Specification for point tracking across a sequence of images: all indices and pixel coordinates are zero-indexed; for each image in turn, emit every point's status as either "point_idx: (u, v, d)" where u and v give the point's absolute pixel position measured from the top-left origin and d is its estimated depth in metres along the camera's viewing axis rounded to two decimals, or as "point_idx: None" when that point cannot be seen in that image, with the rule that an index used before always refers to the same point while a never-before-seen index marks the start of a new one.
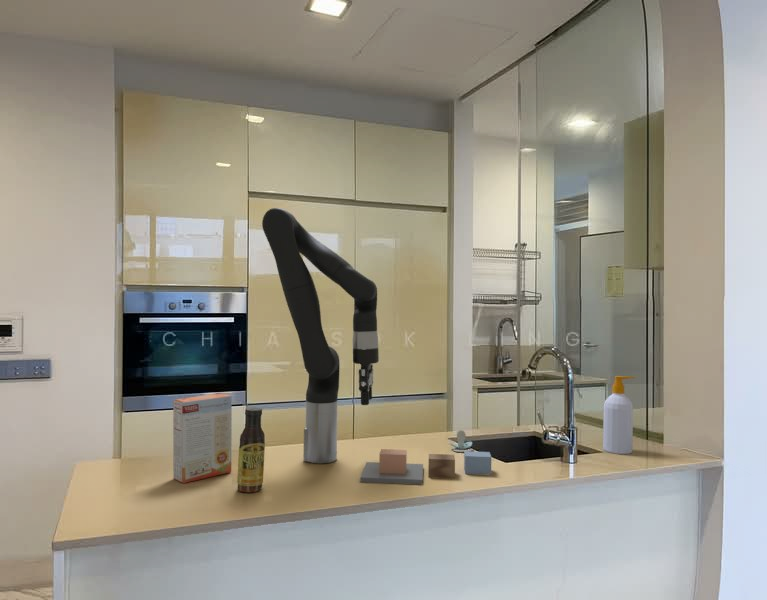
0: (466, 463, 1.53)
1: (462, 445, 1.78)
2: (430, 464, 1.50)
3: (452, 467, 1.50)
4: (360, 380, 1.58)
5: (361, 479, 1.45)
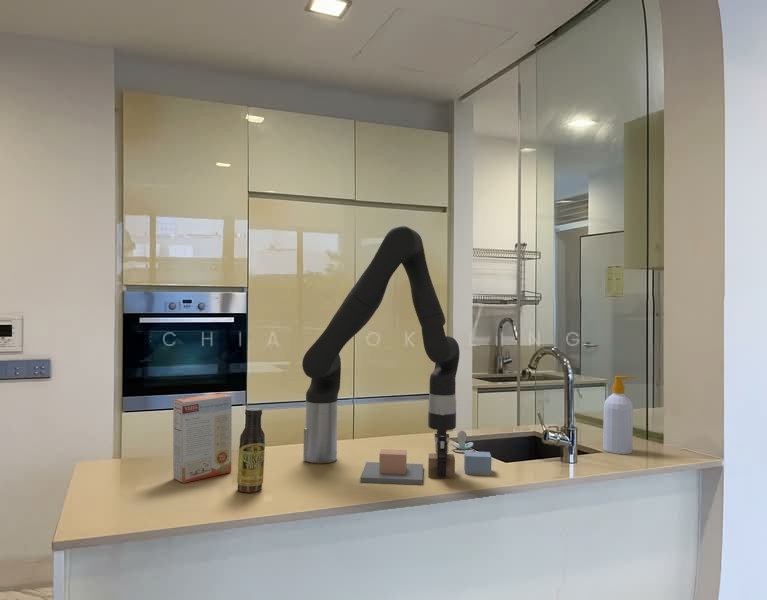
0: (466, 463, 1.53)
1: (463, 446, 1.78)
2: (430, 463, 1.50)
3: (452, 467, 1.50)
4: (439, 452, 1.46)
5: (361, 479, 1.45)
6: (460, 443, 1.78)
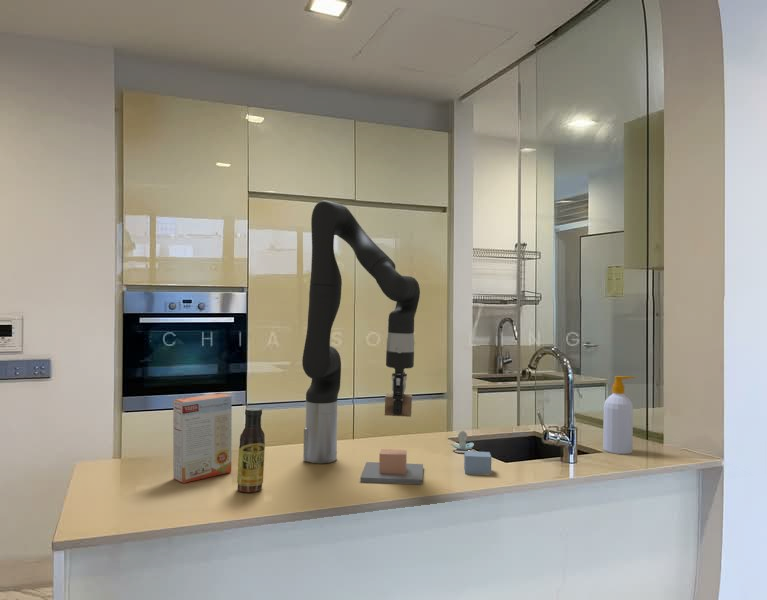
0: (466, 463, 1.53)
1: (463, 446, 1.77)
2: (387, 402, 1.50)
3: (409, 405, 1.49)
4: (394, 389, 1.46)
5: (361, 479, 1.45)
6: (461, 443, 1.77)
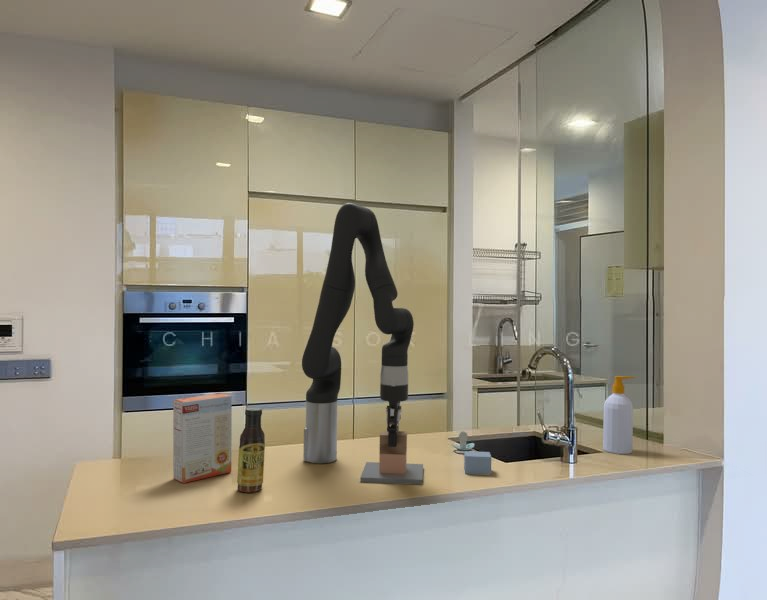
0: (466, 463, 1.53)
1: (464, 446, 1.77)
2: (381, 440, 1.49)
3: (403, 443, 1.49)
4: (388, 420, 1.45)
5: (361, 479, 1.45)
6: (461, 444, 1.77)
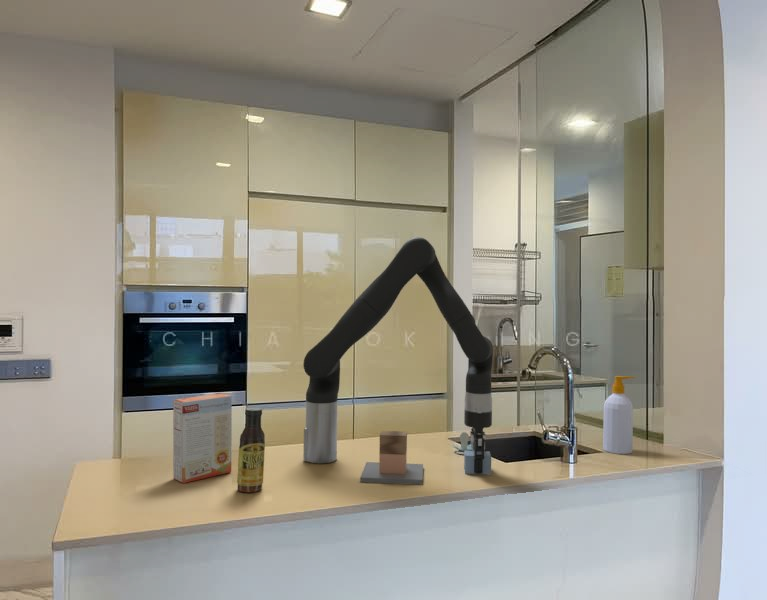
0: (466, 462, 1.53)
1: (465, 447, 1.76)
2: (381, 440, 1.49)
3: (403, 443, 1.49)
4: (476, 450, 1.50)
5: (361, 479, 1.45)
6: (462, 445, 1.75)
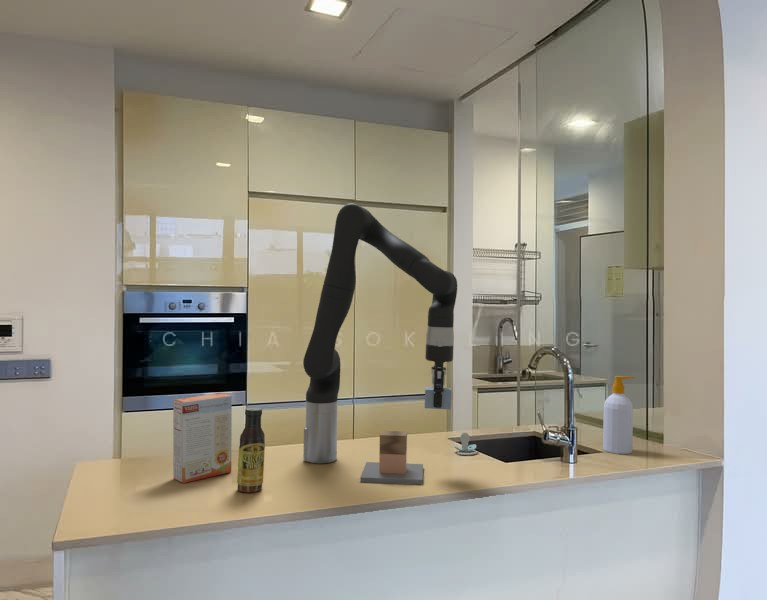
0: (426, 397, 1.52)
1: (466, 448, 1.75)
2: (381, 440, 1.49)
3: (403, 443, 1.49)
4: (435, 382, 1.48)
5: (361, 479, 1.45)
6: (463, 445, 1.75)
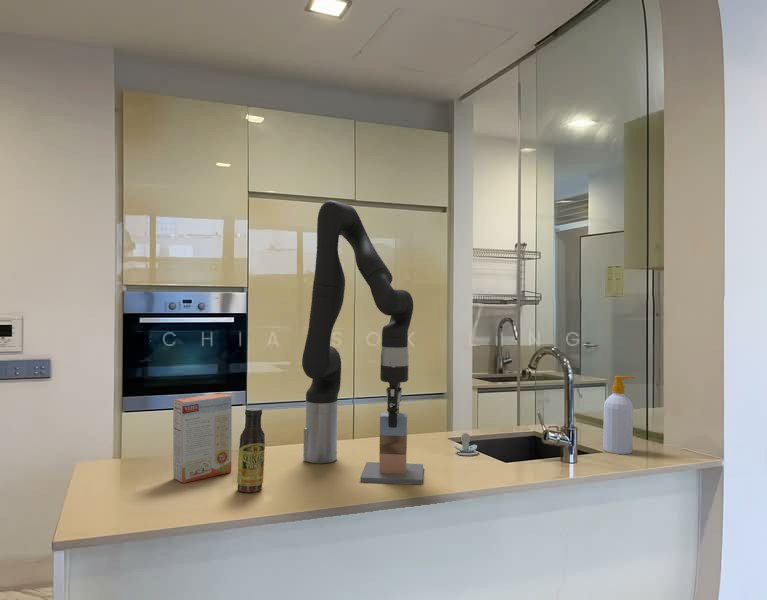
0: (381, 423, 1.49)
1: (467, 448, 1.75)
2: (381, 440, 1.49)
3: (403, 443, 1.49)
4: (389, 401, 1.45)
5: (361, 479, 1.45)
6: (464, 446, 1.74)
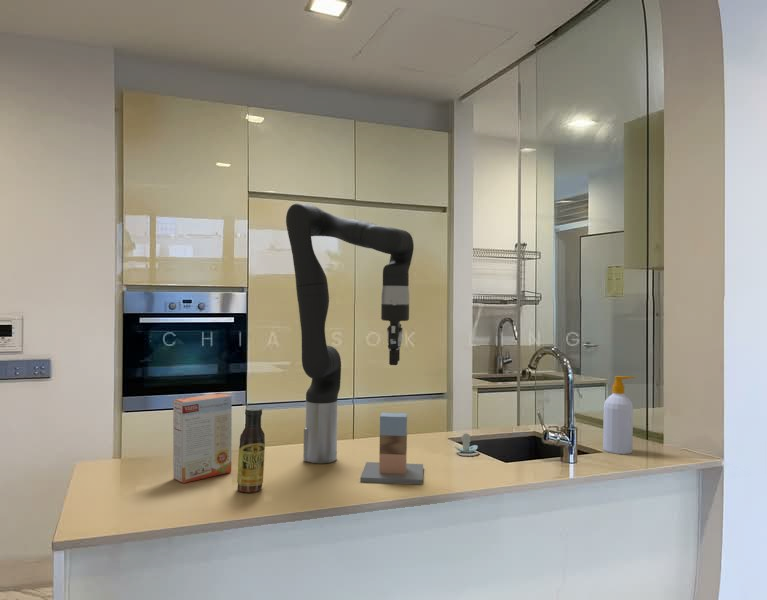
0: (381, 423, 1.49)
1: (467, 449, 1.74)
2: (381, 440, 1.49)
3: (403, 443, 1.49)
4: (390, 337, 1.45)
5: (361, 479, 1.45)
6: (464, 446, 1.74)
